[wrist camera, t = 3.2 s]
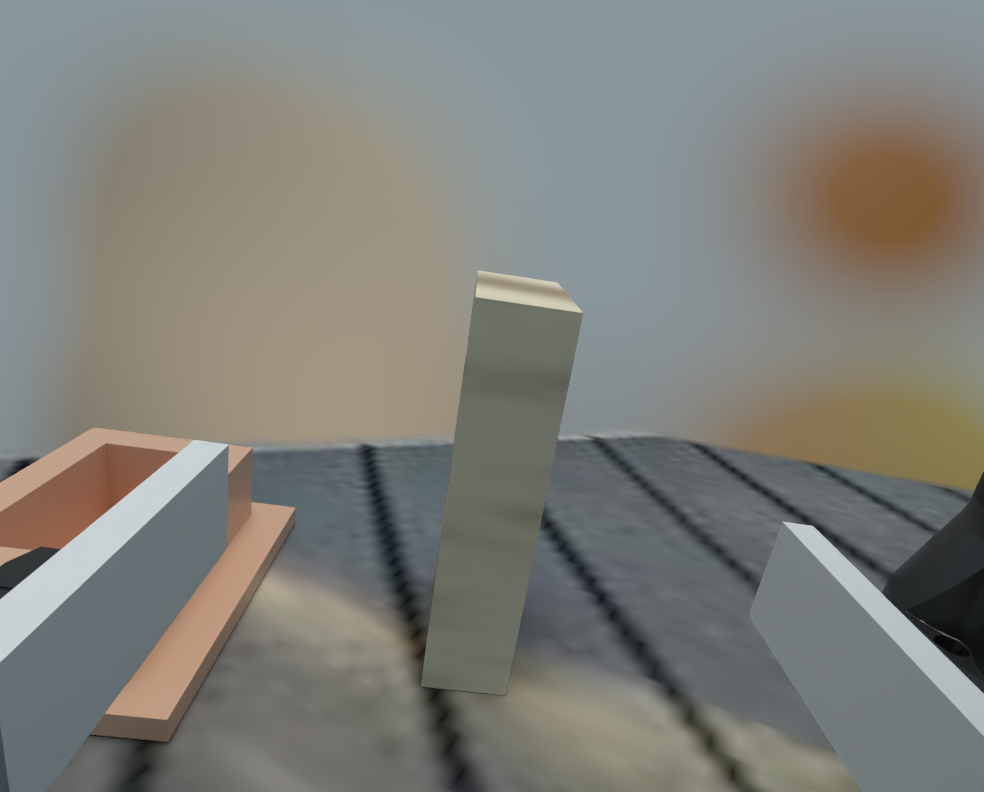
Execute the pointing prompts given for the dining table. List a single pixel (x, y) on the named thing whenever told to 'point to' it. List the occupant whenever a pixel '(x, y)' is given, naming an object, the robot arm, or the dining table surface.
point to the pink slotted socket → (214, 605)
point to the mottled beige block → (498, 477)
